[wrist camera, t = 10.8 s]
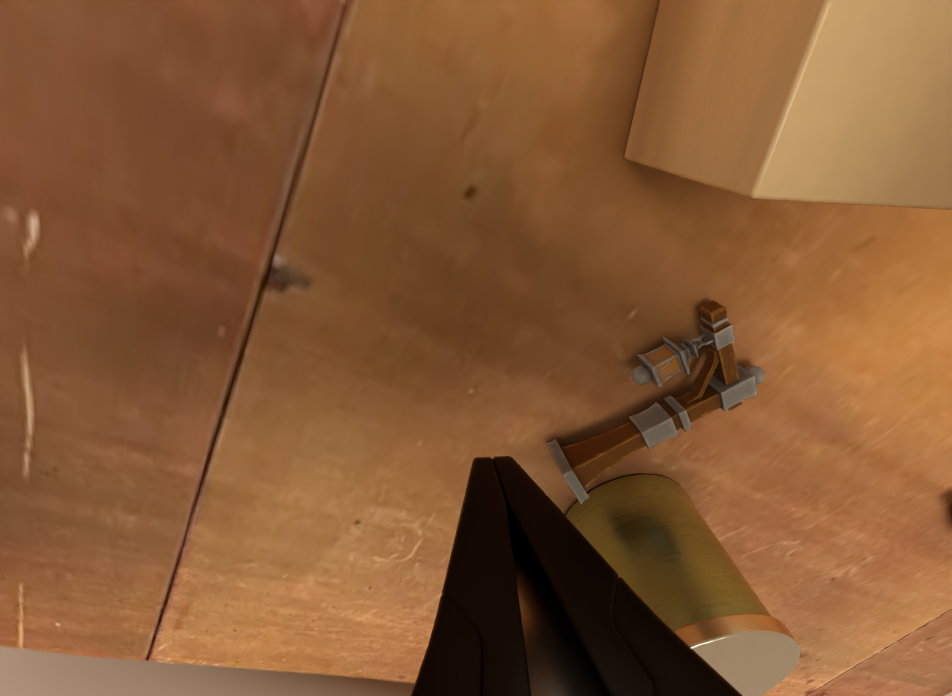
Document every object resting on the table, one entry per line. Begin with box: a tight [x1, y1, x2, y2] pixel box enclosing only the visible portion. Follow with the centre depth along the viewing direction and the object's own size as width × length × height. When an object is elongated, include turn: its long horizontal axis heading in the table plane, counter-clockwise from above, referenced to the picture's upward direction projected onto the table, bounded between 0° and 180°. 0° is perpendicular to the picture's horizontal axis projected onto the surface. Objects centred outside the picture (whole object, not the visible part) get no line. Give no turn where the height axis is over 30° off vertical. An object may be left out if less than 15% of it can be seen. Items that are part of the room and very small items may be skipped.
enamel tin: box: [565, 474, 800, 696], centre depth 17 cm, size 6×6×6 cm
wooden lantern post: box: [546, 301, 765, 505], centre depth 15 cm, size 2×8×4 cm
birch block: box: [624, 0, 952, 210], centre depth 9 cm, size 8×4×5 cm, turn 85°
